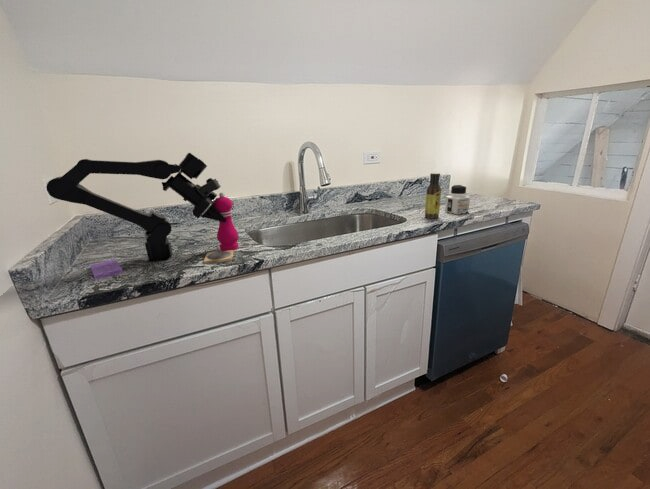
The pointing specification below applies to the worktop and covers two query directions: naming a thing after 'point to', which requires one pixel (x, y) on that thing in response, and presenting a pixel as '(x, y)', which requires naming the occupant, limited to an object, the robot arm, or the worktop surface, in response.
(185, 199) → the robot arm
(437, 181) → the sauce bottle
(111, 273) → the sponges
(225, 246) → the pepper mill
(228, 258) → the dock
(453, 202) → the container
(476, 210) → the worktop surface
